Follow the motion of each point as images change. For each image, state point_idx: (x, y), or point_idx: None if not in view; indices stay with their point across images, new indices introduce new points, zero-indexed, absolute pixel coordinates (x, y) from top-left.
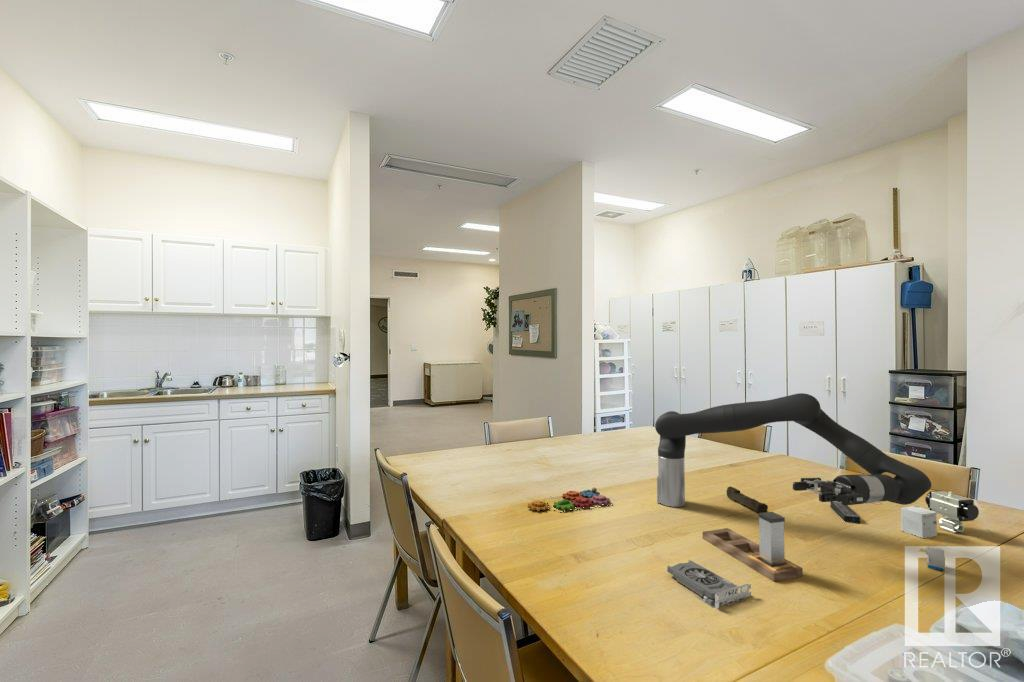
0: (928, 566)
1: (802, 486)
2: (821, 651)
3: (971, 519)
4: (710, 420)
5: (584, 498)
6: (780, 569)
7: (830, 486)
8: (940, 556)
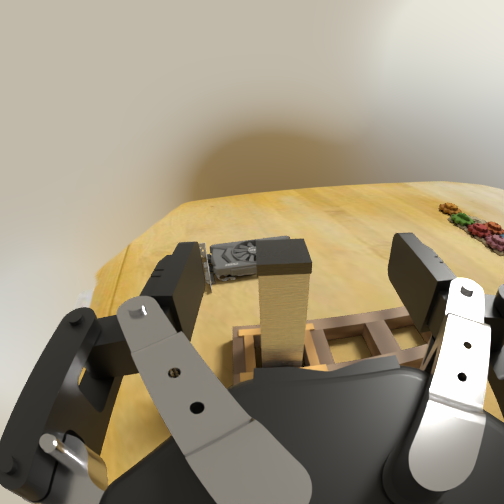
0: None
1: (414, 287)
2: (102, 290)
3: None
4: None
5: (484, 227)
6: (243, 346)
7: (334, 410)
8: None
